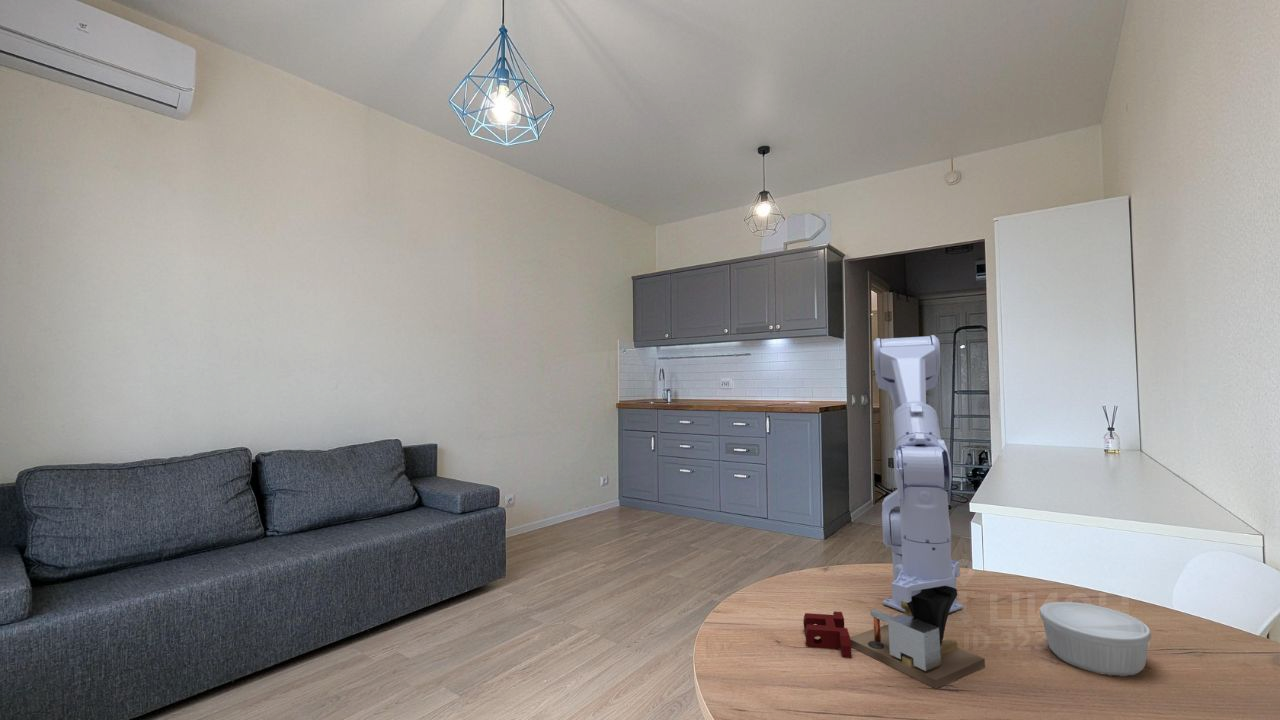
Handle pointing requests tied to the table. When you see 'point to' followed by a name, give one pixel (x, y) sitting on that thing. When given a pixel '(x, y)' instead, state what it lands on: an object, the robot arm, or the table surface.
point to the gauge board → (951, 667)
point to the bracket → (827, 632)
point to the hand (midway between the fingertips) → (931, 644)
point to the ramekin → (1096, 637)
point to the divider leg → (910, 638)
